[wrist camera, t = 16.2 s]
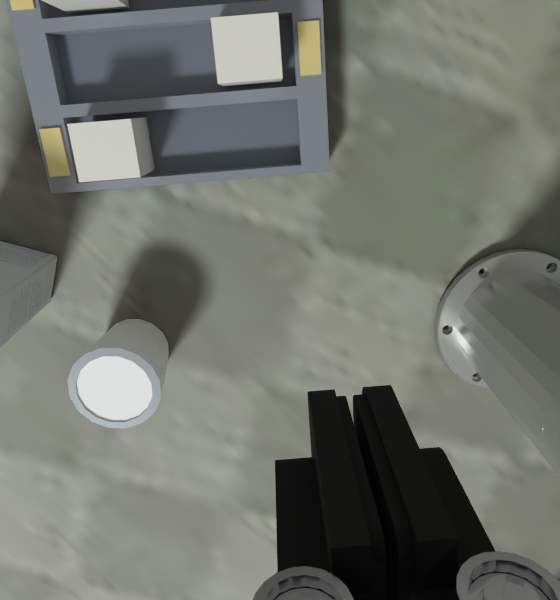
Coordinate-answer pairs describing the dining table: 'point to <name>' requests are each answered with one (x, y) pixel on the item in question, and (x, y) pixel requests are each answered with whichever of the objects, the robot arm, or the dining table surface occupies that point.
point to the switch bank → (174, 89)
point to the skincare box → (23, 286)
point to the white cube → (88, 5)
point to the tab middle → (247, 49)
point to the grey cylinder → (121, 375)
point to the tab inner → (111, 149)
